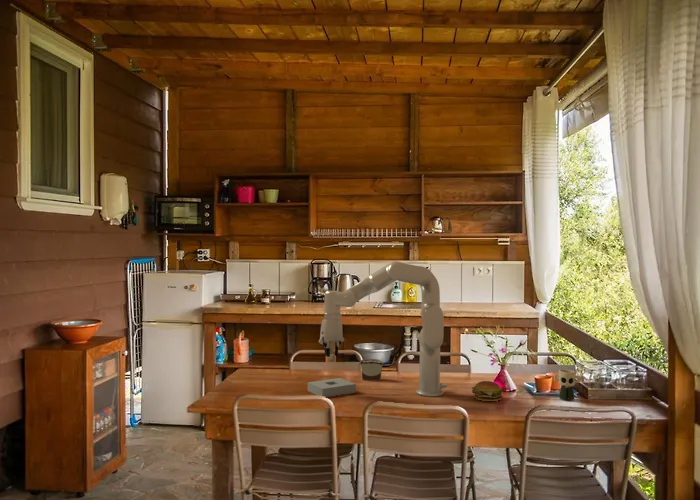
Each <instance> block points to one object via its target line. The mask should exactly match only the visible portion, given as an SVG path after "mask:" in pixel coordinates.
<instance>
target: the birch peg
mask: <svg viewBox="0 0 700 500" xmlns="http://www.w3.org/2000/svg"><path fill="white" fill-rule="evenodd" d="M329 348H330V356H329V357H327V356H326V357H327V358H326V360H327V363H335V362H336V356H335V341H331V342H330V343H329Z"/></svg>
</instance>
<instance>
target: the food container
mask: <svg viewBox="0 0 700 500" xmlns="http://www.w3.org/2000/svg"><path fill="white" fill-rule="evenodd" d="M359 365H360V370H361V380H362V381H370V382H371V381H375V382H377V381H378V382H380V381H381V379H382V378H381V377H382V370H383V366H384V361H383V360H381V359H377V358H364V359H361V360H360V362H359Z"/></svg>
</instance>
